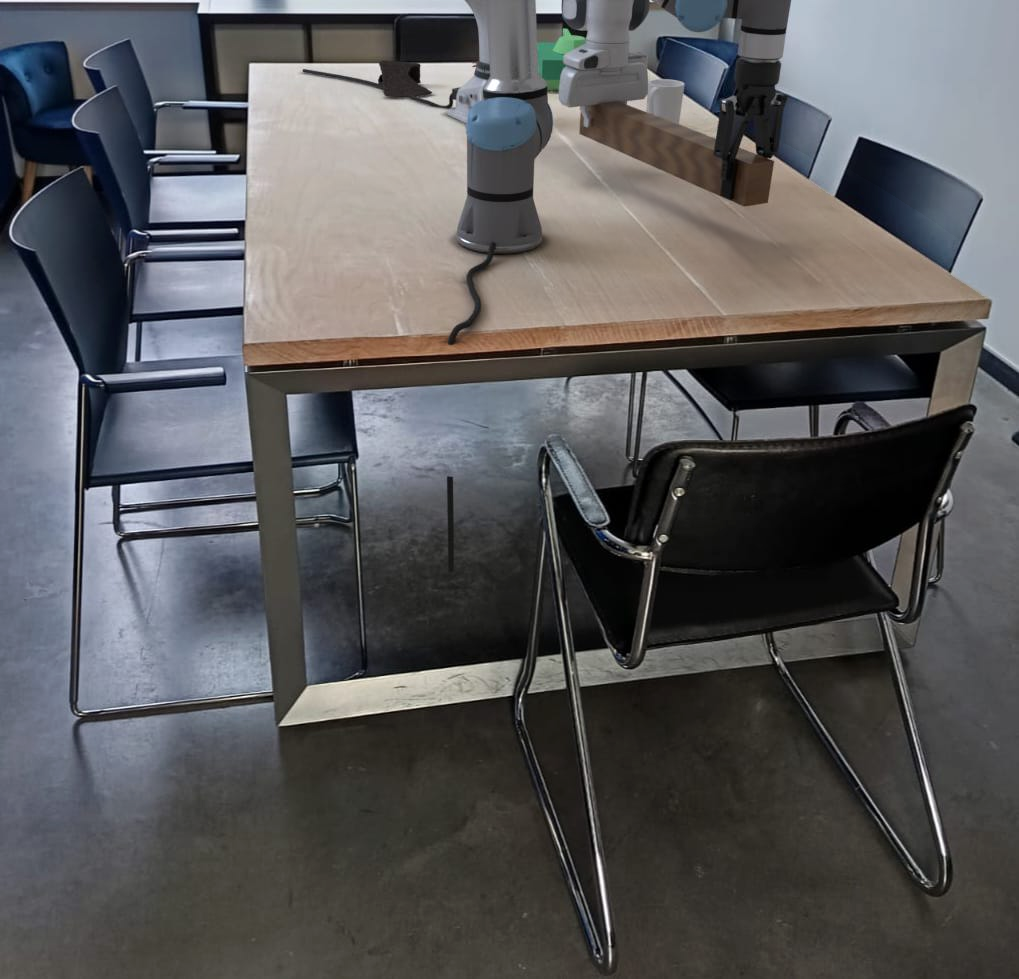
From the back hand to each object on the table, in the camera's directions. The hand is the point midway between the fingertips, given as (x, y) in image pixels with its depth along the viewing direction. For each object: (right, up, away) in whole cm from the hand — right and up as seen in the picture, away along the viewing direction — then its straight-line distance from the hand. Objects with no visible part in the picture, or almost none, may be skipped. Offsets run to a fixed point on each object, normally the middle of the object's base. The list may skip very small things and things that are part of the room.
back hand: (601, 124), depth 229 cm
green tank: (-3, +42, +88) cm, 98 cm away
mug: (+18, +13, +41) cm, 47 cm away
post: (+11, -13, -15) cm, 23 cm away
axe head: (-48, +33, +71) cm, 92 cm away
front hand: (+22, -24, -33) cm, 46 cm away
